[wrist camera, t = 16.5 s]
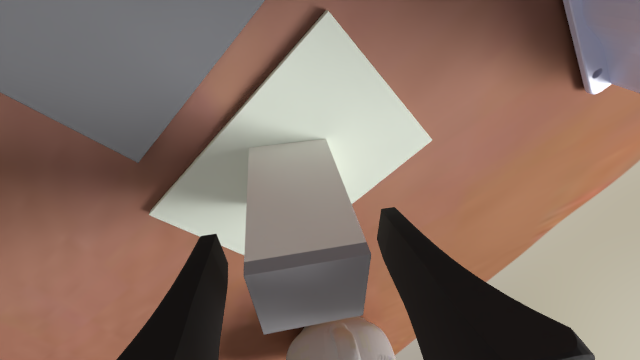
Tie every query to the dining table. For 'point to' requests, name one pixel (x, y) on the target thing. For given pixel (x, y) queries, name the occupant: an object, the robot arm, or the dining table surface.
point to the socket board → (114, 61)
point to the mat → (298, 133)
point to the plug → (302, 238)
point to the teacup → (341, 342)
